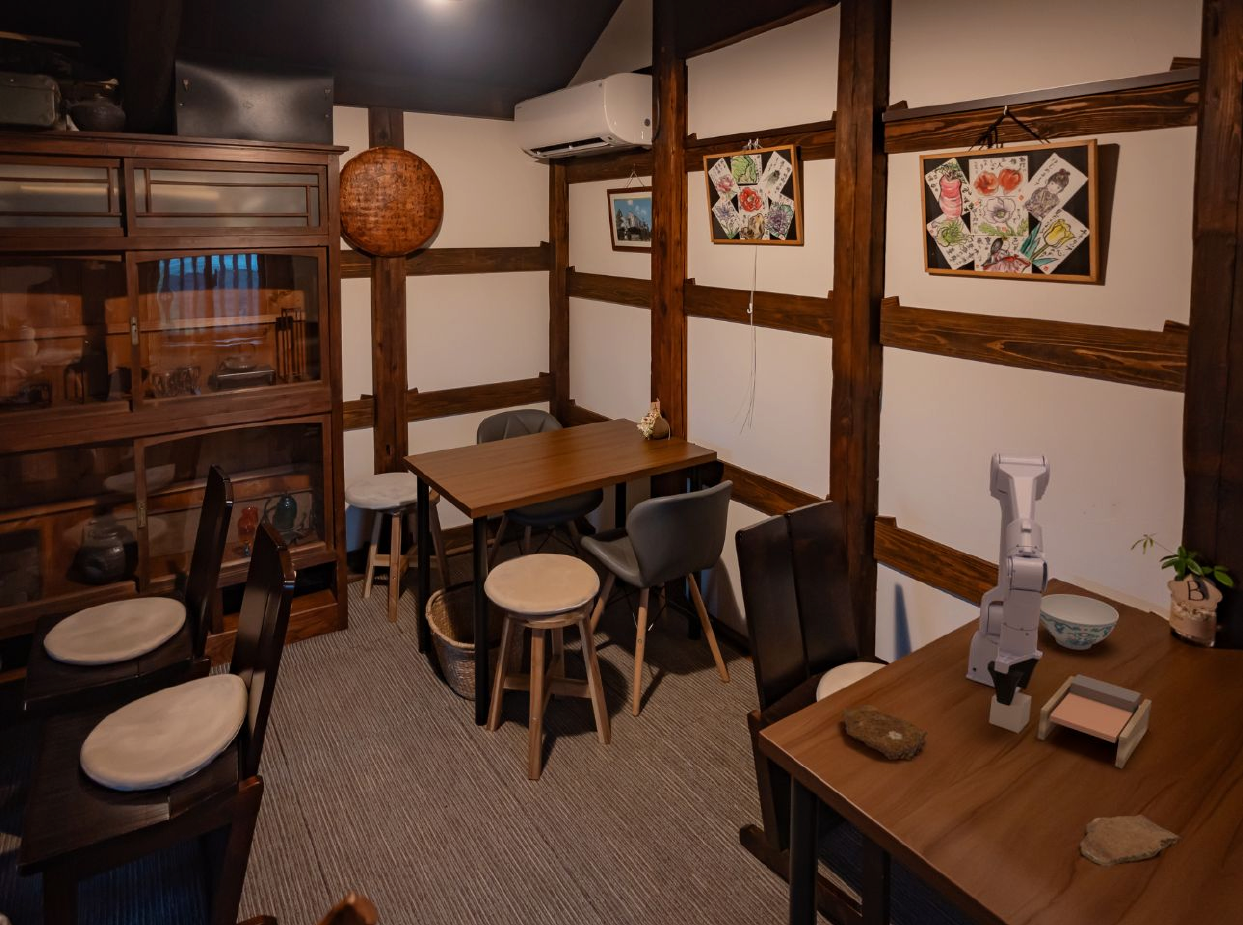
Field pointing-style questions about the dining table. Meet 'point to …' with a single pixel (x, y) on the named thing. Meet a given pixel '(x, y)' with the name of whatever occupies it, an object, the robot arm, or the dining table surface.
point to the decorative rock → (884, 732)
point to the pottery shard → (1124, 839)
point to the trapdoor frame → (1126, 739)
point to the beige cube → (1011, 712)
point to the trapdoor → (1097, 708)
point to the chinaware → (1077, 619)
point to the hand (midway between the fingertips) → (1012, 695)
